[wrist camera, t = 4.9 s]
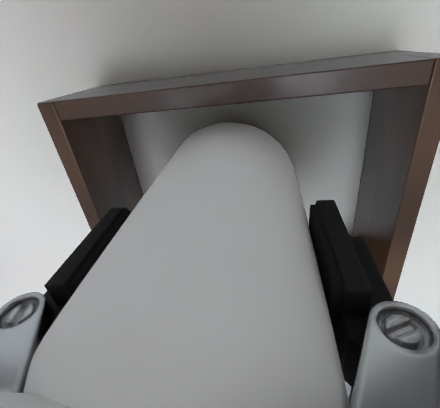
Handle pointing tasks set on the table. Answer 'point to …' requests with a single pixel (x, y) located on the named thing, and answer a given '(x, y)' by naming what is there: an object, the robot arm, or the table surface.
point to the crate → (265, 91)
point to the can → (201, 293)
